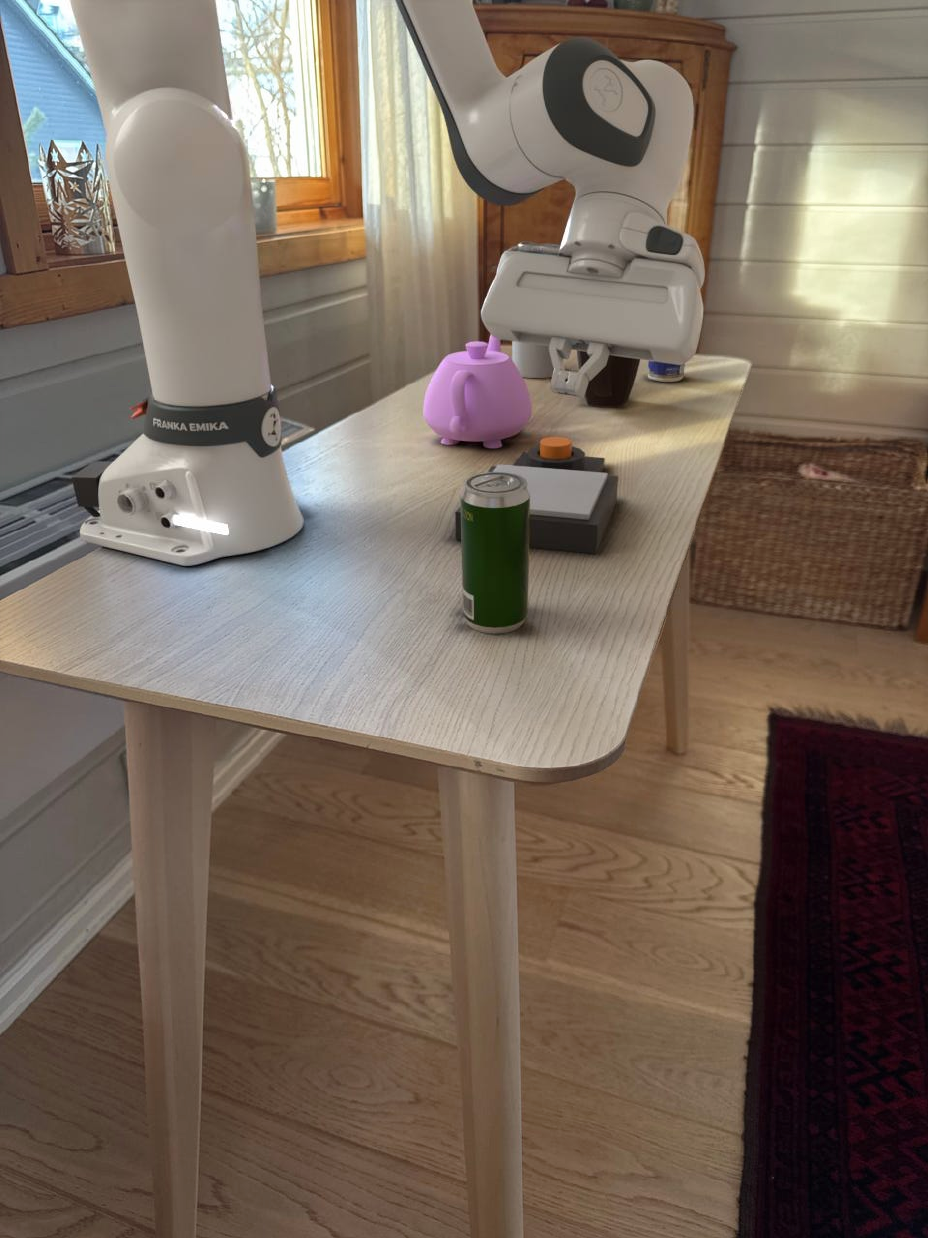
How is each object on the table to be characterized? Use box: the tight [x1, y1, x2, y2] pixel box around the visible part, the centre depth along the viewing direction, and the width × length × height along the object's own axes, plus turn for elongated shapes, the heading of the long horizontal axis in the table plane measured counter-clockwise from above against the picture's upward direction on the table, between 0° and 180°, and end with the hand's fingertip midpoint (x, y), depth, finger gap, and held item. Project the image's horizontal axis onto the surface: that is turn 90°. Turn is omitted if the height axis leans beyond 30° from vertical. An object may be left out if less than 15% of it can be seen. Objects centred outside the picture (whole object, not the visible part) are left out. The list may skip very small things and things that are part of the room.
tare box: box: [512, 445, 606, 473], centre depth 104 cm, size 10×10×3 cm
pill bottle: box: [647, 360, 686, 383], centre depth 142 cm, size 6×6×10 cm
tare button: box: [539, 436, 573, 459], centre depth 103 cm, size 4×4×2 cm
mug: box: [576, 350, 641, 408], centre depth 128 cm, size 10×14×12 cm
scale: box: [454, 463, 619, 555], centre depth 92 cm, size 14×14×4 cm
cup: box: [511, 341, 554, 379], centre depth 147 cm, size 8×8×10 cm
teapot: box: [422, 334, 533, 449], centre depth 116 cm, size 20×14×12 cm
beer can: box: [459, 471, 530, 635], centre depth 72 cm, size 5×5×12 cm
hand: (566, 393), depth 82 cm, fingers closed
